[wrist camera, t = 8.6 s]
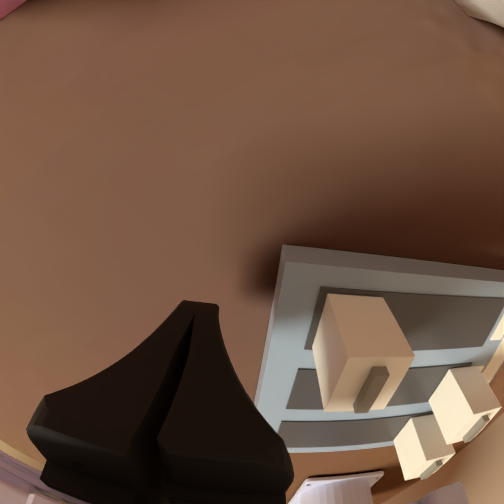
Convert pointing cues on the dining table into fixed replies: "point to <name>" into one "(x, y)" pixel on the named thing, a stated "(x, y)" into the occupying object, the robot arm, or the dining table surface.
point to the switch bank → (409, 320)
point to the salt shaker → (484, 10)
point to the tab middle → (463, 404)
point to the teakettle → (9, 6)
